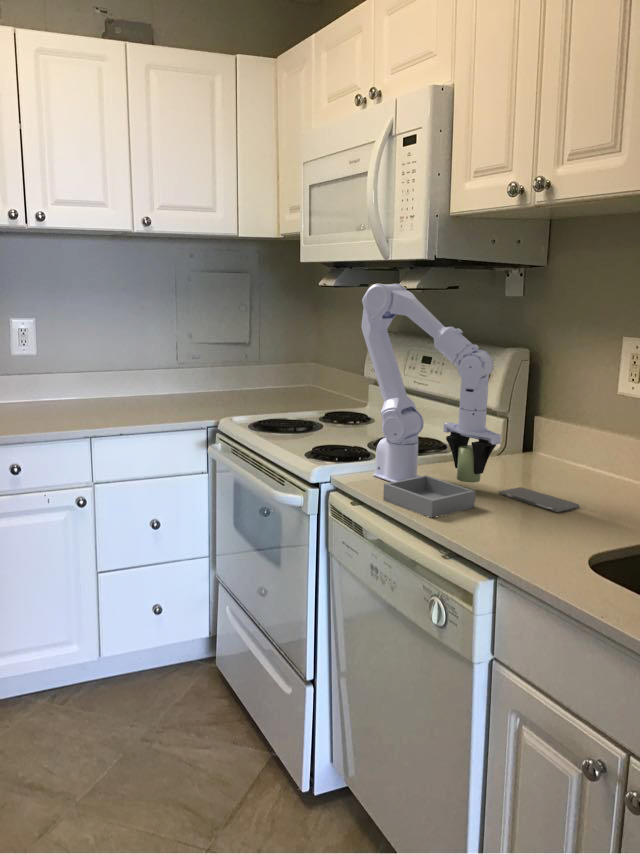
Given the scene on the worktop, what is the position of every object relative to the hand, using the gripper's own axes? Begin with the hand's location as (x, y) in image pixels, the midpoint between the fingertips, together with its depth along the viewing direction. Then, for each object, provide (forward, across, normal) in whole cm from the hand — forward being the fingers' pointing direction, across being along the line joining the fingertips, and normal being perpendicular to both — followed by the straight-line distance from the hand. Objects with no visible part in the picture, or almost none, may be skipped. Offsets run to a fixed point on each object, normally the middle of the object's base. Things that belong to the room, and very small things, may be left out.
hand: (468, 470), depth 158 cm
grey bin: (+4, -2, +14) cm, 15 cm away
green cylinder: (+2, 0, 0) cm, 2 cm away
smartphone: (+5, -13, -7) cm, 16 cm away
